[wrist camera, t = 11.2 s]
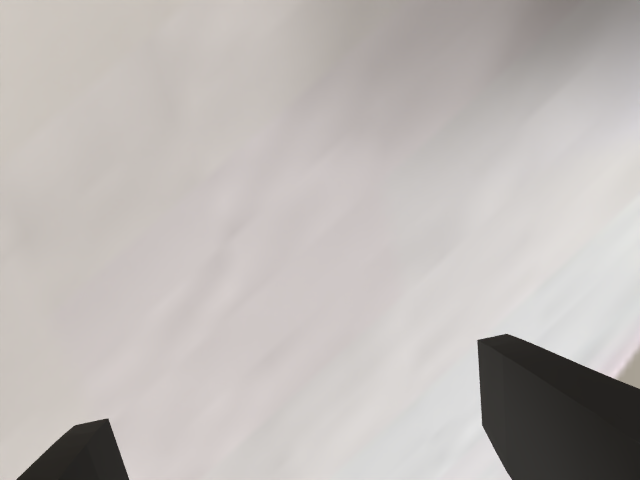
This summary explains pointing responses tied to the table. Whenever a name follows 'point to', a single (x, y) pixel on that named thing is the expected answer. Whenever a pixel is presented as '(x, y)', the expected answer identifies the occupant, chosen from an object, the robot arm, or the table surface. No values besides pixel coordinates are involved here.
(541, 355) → the robot arm
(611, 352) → the table surface
